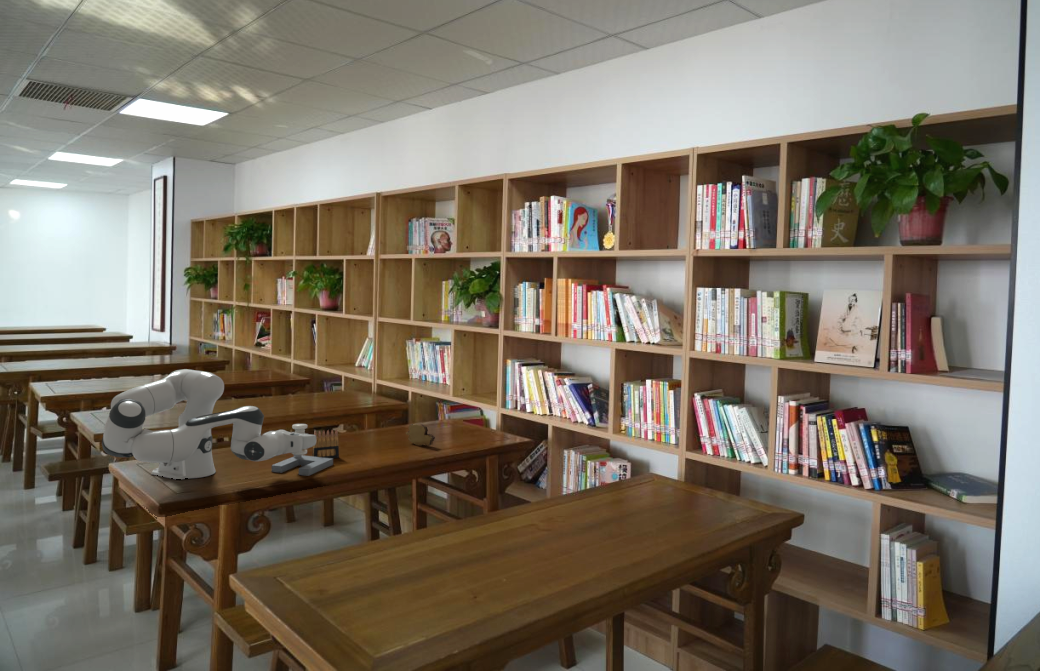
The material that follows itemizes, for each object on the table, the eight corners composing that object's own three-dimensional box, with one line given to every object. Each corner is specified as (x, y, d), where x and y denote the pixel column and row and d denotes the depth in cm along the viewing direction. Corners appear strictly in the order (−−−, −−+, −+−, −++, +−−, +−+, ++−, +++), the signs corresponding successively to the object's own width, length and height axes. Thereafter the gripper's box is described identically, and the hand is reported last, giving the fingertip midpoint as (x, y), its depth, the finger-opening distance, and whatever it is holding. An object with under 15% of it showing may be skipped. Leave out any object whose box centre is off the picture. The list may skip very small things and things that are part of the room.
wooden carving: (437, 446, 325) (437, 425, 324) (431, 448, 321) (431, 426, 320) (409, 441, 333) (409, 420, 332) (402, 443, 329) (403, 422, 328)
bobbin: (289, 454, 275) (289, 425, 274) (297, 451, 280) (297, 423, 279) (301, 455, 273) (302, 427, 272) (310, 452, 279) (310, 424, 278)
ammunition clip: (313, 460, 293) (313, 431, 293) (312, 459, 295) (312, 430, 294) (338, 457, 299) (339, 429, 298) (337, 456, 301) (338, 428, 300)
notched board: (271, 471, 274) (271, 444, 273) (297, 460, 291) (298, 435, 291) (308, 475, 270) (308, 448, 269) (332, 464, 287) (333, 438, 287)
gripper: (255, 448, 267) (277, 440, 280) (303, 453, 261) (324, 445, 274) (255, 431, 266) (277, 424, 280) (303, 436, 261) (324, 429, 274)
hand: (301, 434), depth 277 cm, fingers closed on bobbin, 4 cm apart
